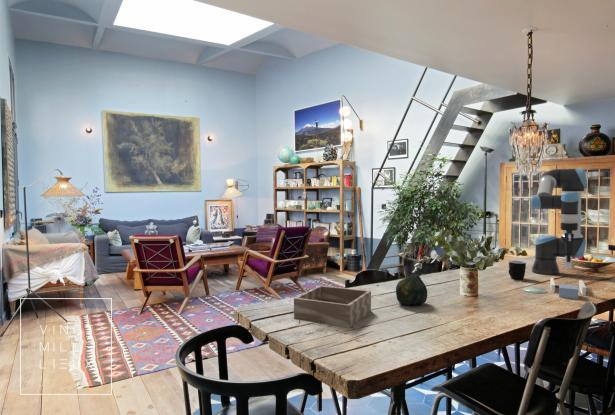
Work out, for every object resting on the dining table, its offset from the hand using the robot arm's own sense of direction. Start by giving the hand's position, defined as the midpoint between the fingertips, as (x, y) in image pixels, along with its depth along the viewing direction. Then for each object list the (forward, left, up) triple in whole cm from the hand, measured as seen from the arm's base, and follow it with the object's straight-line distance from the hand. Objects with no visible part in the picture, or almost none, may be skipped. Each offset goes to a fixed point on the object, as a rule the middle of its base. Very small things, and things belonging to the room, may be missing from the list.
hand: (568, 267), depth 220 cm
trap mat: (-11, 0, -13) cm, 17 cm away
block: (+9, 0, -13) cm, 16 cm away
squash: (+55, -67, -13) cm, 88 cm away
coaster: (+3, -15, -13) cm, 20 cm away
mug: (-22, -25, -13) cm, 36 cm away
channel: (-5, 0, -13) cm, 13 cm away
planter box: (+87, -93, -13) cm, 128 cm away
